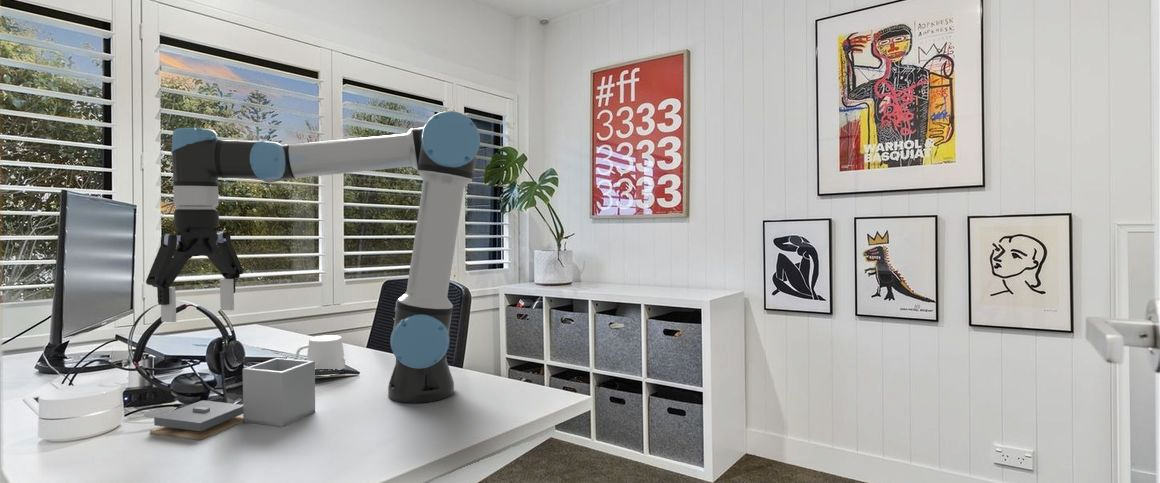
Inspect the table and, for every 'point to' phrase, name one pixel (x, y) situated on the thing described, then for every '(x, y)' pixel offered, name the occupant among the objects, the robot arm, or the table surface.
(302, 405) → the storage cube
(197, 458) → the table surface
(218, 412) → the lid
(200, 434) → the wooden square board
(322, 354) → the mug
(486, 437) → the table surface
